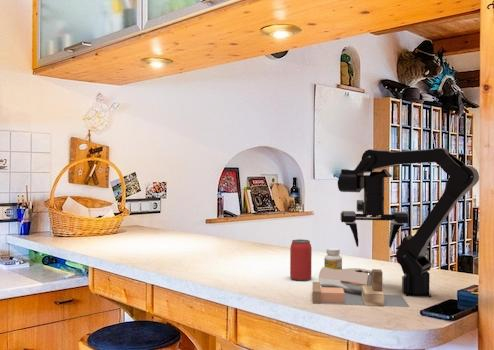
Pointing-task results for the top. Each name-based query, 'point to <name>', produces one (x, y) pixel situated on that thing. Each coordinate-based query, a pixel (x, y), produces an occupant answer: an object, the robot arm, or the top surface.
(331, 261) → the supplement bottle
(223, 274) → the top surface
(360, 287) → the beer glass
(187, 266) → the top surface
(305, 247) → the beer can
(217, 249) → the top surface
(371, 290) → the two-tone stepped block
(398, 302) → the slate board
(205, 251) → the top surface
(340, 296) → the tile
